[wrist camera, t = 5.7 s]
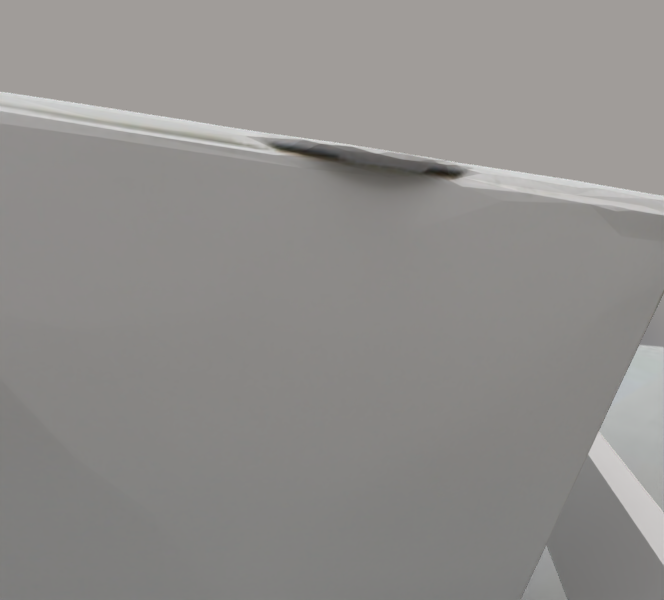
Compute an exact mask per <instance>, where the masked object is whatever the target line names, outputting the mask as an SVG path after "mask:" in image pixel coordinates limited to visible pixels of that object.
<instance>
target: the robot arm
mask: <svg viewBox="0 0 664 600" xmlns="http://www.w3.org/2000/svg"><path fill="white" fill-rule="evenodd" d="M546 545H547V547H548V550H549V553H550V555H551V558H552V560H553V563H554V566H555V568H556V571H557V573H558V576H559V579H560V581H561V584H562V586H563V589H564V592H565V594H566V597H567V599H568V600H664V512H663V511H662V510H661V509H660V507H659V506H658V505H657V504H656V502H655V501H654V500H653V499H652V497H651V496H650V495H649V494H648V492H647V491H646V490H645V489H644V487H643V486H642V485H641V483H640V482H639V481H638V480H637V478H636V477H635V476H634V475H633V473H632V472H631V471H630V470H629V468H628V467H627V466H626V465H625V463H624V462H623V461H622V460H621V458H620V457H619V456H618V455H617V453H616V452H615V451H614V450H613V448H612V447H611V446H610V444H609V443H608V442H607V441H606V439H605V438H604V437H603V436H602V434H601V433H600V432H598V434H597V436H596V438H595V440H594V442H593V445H592V447H591V449H590V451H589V453H588V455H587V458H586V460H585V462H584V464H583V466H582V468H581V471H580V473H579V475H578V477H577V479H576V481H575V484H574V486H573V488H572V490H571V492H570V494H569V497H568V499H567V501H566V503H565V505H564V507H563V510H562V512H561V514H560V516H559V518H558V520H557V523H556V525H555V527H554V529H553V531H552V533H551V536H550V538H549V540H548V542H547V544H546Z"/></svg>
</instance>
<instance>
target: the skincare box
mask: <svg viewBox="0 0 664 600" xmlns="http://www.w3.org/2000/svg"><path fill="white" fill-rule="evenodd" d="M663 294H664V196H660V195H654V194H649V193H643V192H638V191H632V190H626V189H620V188H615V187H609V186H603V185H597V184H592V183H586V182H580V181H575V180H568V179H562V178H556V177H549V176H543V175H536V174H530V173H523V172H516V171H510V170H503V169H497V168H490V167H484V166H477V165H471V164H464V163H457V162H452V161H447V160H441V159H435V158H429V157H423V156H417V155H411V154H404V153H398V152H392V151H386V150H380V149H374V148H367V147H361V146H355V145H348V144H342V143H336V142H328V141H321V140H314V139H307V138H300V137H292V136H285V135H278V134H270V133H263V132H257V131H250V130H244V129H237V128H231V127H225V126H219V125H213V124H207V123H201V122H194V121H188V120H182V119H175V118H169V117H163V116H156V115H150V114H143V113H137V112H131V111H124V110H118V109H111V108H105V107H99V106H92V105H86V104H79V103H73V102H66V101H60V100H53V99H46V98H40V97H33V96H27V95H20V94H13V93H7V92H0V600H520V599H521V597H522V595H523V593H524V591H525V589H526V587H527V585H528V583H529V580H530V578H531V576H532V574H533V572H534V570H535V568H536V566H537V564H538V561H539V559H540V557H541V555H542V553H543V551H544V549H545V546H546V544H547V542H548V540H549V538H550V536H551V533H552V531H553V529H554V527H555V525H556V523H557V520H558V518H559V516H560V514H561V512H562V510H563V507H564V505H565V503H566V501H567V499H568V497H569V494H570V492H571V490H572V488H573V486H574V484H575V481H576V479H577V477H578V475H579V473H580V471H581V468H582V466H583V464H584V462H585V460H586V458H587V455H588V453H589V451H590V449H591V447H592V445H593V442H594V440H595V438H596V436H597V434H598V432H599V429H600V427H601V425H602V423H603V421H604V419H605V416H606V414H607V412H608V410H609V408H610V406H611V403H612V401H613V399H614V397H615V395H616V393H617V391H618V389H619V386H620V384H621V382H622V380H623V378H624V376H625V374H626V372H627V370H628V367H629V365H630V363H631V361H632V359H633V357H634V355H635V353H636V351H637V348H638V346H639V344H640V342H641V340H642V338H643V336H644V334H645V332H646V329H647V327H648V325H649V323H650V321H651V319H652V317H653V315H654V313H655V311H656V309H657V307H658V305H659V303H660V300H661V298H662V296H663Z"/></svg>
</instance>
